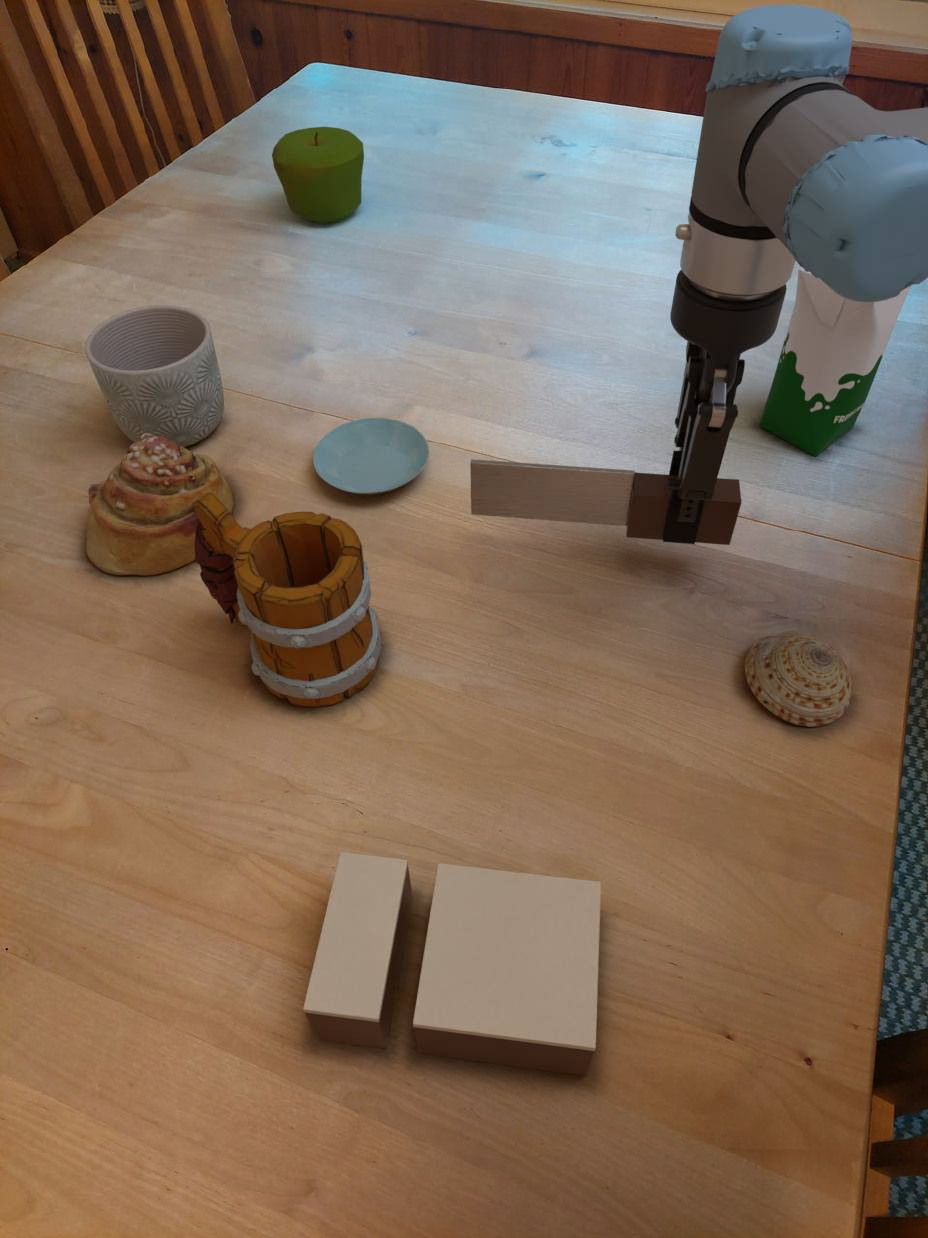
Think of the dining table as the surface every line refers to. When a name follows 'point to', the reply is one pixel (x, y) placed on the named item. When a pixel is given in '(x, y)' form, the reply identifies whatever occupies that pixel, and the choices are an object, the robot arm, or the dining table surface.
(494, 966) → the beige square block
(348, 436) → the saucer
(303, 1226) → the dining table surface
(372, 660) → the mug
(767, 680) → the seashell
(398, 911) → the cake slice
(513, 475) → the knife
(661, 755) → the dining table surface
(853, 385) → the milk carton
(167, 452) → the pastry
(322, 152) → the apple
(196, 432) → the planter
